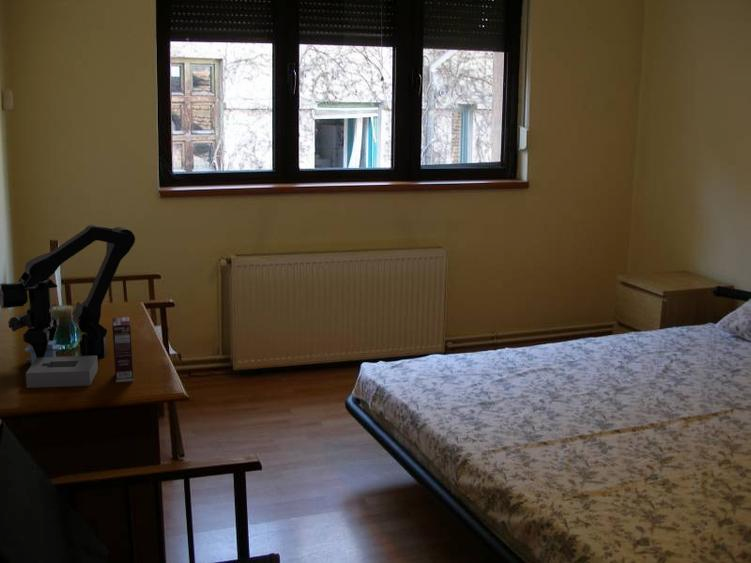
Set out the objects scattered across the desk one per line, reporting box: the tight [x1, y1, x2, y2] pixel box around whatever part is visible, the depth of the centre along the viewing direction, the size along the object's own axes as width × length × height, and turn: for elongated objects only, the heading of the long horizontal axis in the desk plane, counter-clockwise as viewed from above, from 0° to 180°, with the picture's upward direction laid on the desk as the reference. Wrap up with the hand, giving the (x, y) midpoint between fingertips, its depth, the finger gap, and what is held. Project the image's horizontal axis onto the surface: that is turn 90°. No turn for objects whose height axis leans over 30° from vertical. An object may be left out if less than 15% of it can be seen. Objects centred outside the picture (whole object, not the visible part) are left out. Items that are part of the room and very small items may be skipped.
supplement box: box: [111, 316, 134, 383], centre depth 242 cm, size 9×5×16 cm, turn 16°
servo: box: [24, 340, 62, 366], centre depth 255 cm, size 9×4×6 cm, turn 99°
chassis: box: [25, 355, 99, 389], centre depth 242 cm, size 16×14×4 cm
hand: (43, 357), depth 255 cm, fingers open, 8 cm apart
